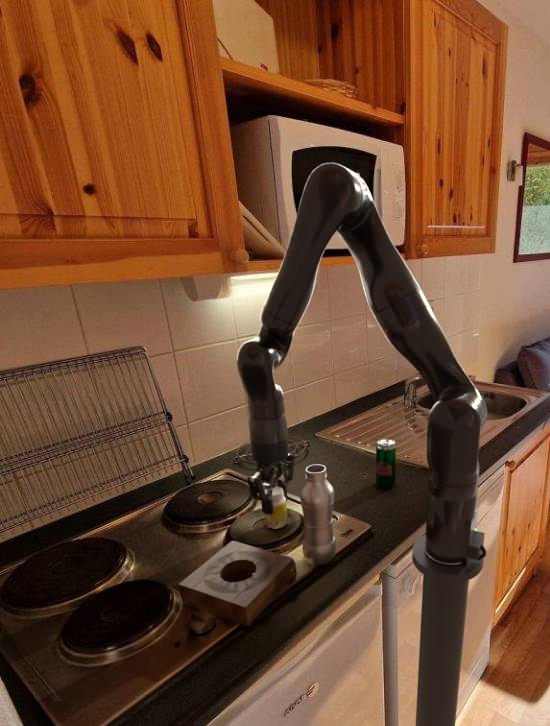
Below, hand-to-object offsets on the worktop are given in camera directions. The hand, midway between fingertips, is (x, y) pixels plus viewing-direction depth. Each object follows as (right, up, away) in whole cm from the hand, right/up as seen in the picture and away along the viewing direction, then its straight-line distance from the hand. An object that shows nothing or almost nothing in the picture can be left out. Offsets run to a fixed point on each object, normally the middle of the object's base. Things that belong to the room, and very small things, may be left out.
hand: (275, 507), depth 104 cm
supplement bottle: (0, -4, +2) cm, 5 cm away
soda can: (+24, +2, +20) cm, 31 cm away
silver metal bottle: (+11, -9, -9) cm, 17 cm away
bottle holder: (-2, -12, -17) cm, 21 cm away
